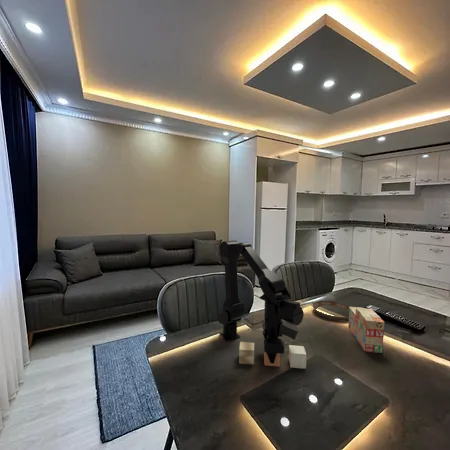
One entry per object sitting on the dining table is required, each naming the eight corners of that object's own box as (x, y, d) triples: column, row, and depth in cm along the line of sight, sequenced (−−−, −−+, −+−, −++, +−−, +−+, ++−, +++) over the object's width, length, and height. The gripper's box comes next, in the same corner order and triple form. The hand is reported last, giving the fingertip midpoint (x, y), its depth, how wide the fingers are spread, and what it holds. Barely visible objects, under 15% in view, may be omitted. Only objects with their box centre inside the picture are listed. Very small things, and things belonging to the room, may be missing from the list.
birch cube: (239, 363, 86) (239, 349, 86) (239, 355, 91) (240, 341, 90) (253, 364, 85) (254, 350, 85) (253, 356, 90) (254, 342, 90)
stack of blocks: (347, 326, 115) (349, 299, 114) (362, 327, 114) (363, 301, 113) (364, 351, 94) (366, 319, 93) (383, 353, 93) (384, 321, 92)
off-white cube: (290, 367, 84) (290, 353, 84) (288, 358, 89) (288, 345, 89) (305, 368, 83) (306, 354, 83) (303, 360, 88) (303, 346, 88)
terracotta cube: (264, 365, 85) (264, 351, 85) (263, 356, 90) (264, 343, 90) (279, 366, 84) (279, 352, 84) (278, 357, 89) (278, 344, 89)
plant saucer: (364, 323, 118) (365, 316, 118) (320, 322, 119) (320, 315, 119) (344, 306, 139) (344, 300, 139) (307, 306, 139) (307, 300, 139)
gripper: (302, 328, 76) (300, 378, 77) (292, 305, 94) (291, 345, 95) (264, 326, 77) (263, 375, 78) (262, 304, 96) (261, 343, 97)
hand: (271, 358), depth 87 cm, fingers closed on terracotta cube, 5 cm apart
